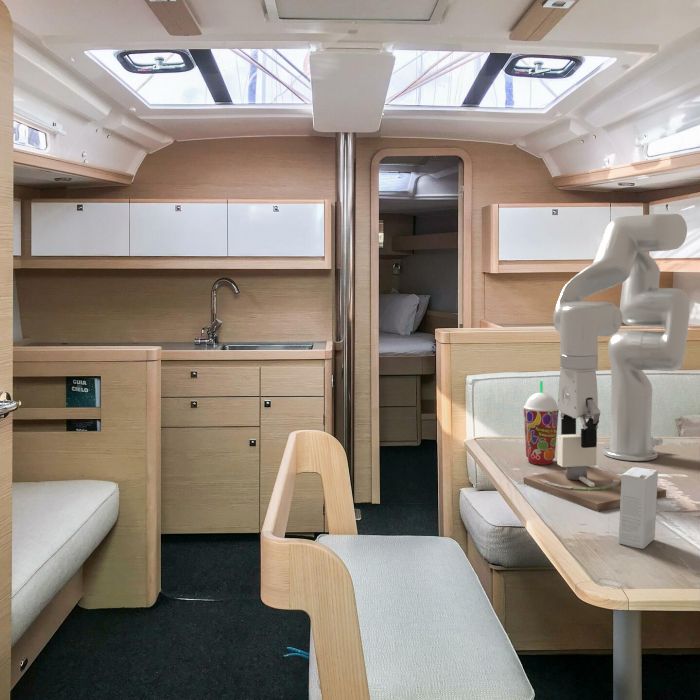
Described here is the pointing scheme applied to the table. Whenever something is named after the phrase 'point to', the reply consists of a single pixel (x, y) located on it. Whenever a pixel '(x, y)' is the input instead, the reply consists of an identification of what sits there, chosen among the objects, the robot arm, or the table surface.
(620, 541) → the skincare box
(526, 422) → the smoothie
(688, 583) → the table surface
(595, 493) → the tuner board
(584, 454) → the pointer knob
